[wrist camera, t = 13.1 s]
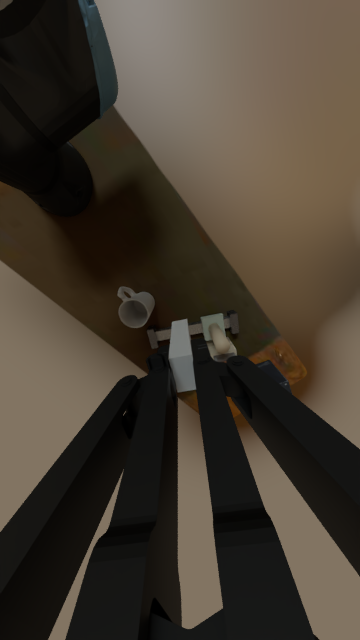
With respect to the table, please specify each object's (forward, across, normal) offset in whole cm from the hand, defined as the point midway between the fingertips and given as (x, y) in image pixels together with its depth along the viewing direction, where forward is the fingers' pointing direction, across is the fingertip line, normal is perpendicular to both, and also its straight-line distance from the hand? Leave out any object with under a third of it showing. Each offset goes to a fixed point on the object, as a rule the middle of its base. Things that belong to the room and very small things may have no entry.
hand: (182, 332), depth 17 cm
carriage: (+32, +7, -13) cm, 35 cm away
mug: (+33, -12, -1) cm, 35 cm away
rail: (+32, +1, -13) cm, 35 cm away
